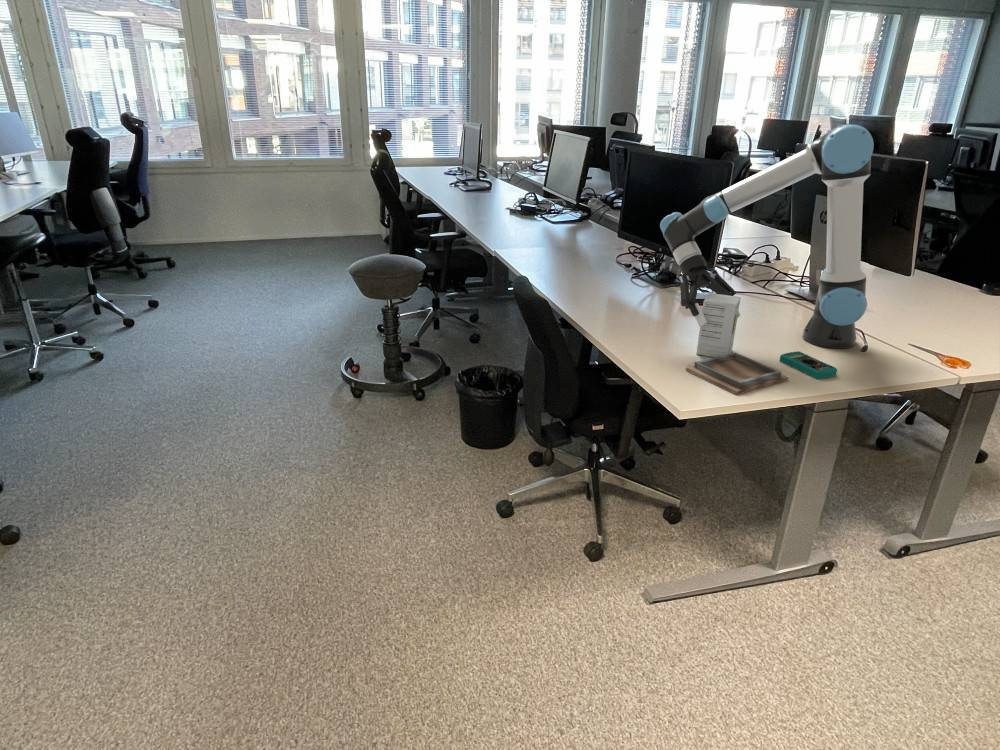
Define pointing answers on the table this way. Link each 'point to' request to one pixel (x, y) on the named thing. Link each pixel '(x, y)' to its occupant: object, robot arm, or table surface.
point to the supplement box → (718, 325)
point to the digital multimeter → (808, 365)
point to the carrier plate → (736, 373)
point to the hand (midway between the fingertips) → (720, 321)
